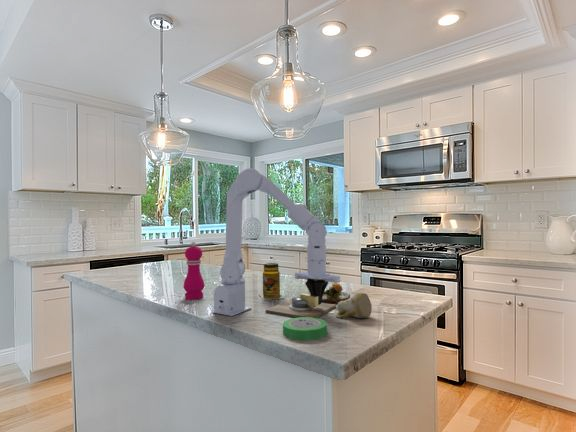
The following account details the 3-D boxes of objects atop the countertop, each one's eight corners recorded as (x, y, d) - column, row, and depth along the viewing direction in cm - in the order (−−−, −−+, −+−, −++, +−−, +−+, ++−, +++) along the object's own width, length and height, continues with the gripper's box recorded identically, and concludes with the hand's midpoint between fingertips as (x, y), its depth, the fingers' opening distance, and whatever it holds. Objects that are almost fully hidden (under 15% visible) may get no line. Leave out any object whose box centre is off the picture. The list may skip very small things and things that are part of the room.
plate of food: (325, 295, 135) (325, 274, 135) (355, 298, 129) (355, 277, 129) (309, 302, 125) (309, 280, 125) (342, 306, 119) (342, 283, 119)
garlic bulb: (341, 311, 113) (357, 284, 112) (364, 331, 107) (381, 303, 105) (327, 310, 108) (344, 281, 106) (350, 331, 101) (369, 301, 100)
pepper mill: (199, 300, 127) (198, 242, 126) (179, 300, 128) (179, 242, 128) (207, 296, 134) (207, 241, 134) (189, 295, 135) (188, 240, 135)
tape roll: (274, 335, 91) (274, 325, 91) (297, 324, 101) (297, 314, 100) (313, 344, 85) (312, 333, 85) (334, 331, 94) (334, 321, 94)
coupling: (287, 305, 114) (287, 294, 114) (300, 301, 118) (300, 290, 118) (310, 310, 108) (310, 298, 108) (322, 306, 112) (322, 294, 112)
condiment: (264, 300, 127) (263, 265, 127) (258, 295, 135) (258, 262, 135) (284, 298, 129) (284, 264, 129) (277, 293, 137) (277, 261, 137)
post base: (312, 320, 103) (312, 316, 103) (265, 312, 111) (265, 308, 111) (335, 307, 117) (335, 303, 117) (292, 301, 125) (292, 297, 125)
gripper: (289, 260, 113) (290, 304, 114) (332, 263, 106) (333, 310, 106) (301, 257, 119) (301, 299, 120) (342, 260, 112) (342, 304, 112)
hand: (317, 304), depth 113 cm, fingers closed
